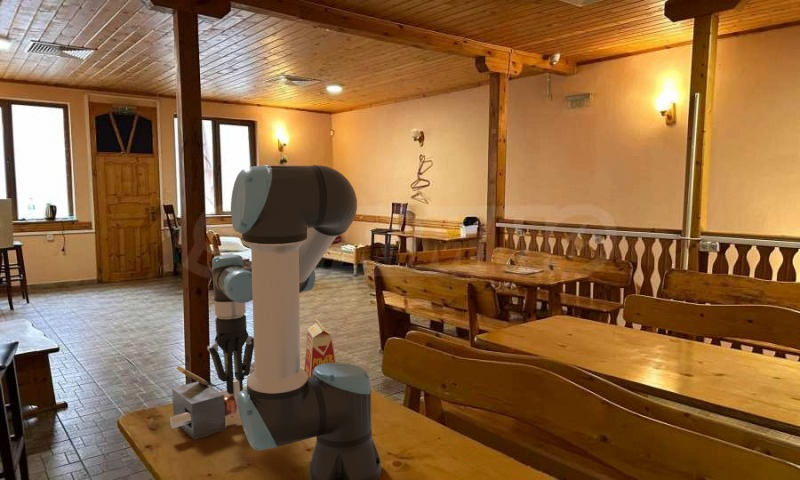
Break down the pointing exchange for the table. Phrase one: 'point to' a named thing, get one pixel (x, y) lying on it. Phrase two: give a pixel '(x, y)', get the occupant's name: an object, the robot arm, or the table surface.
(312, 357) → the milk carton
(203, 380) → the tan rectangular plate
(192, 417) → the block
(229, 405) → the pin
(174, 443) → the table surface
